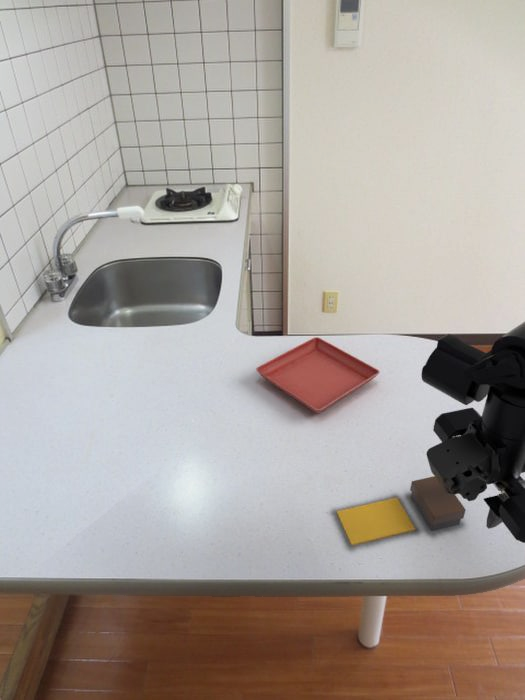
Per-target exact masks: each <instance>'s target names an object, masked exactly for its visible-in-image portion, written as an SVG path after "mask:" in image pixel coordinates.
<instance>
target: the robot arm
mask: <svg viewBox="0 0 525 700" xmlns="http://www.w3.org/2000/svg"><path fill="white" fill-rule="evenodd" d="M421 380H422V382H423V383H425V384H427V385H429V386H431V387H432V388H434V389H436V390H438V391H439V392H441V393H443V394H445V395H446V396H448V397H449V398H452V399H454V400H455V401H457V402H459V403H461V404H463V405H464V406H468V405H470V404H472V403H473V402H474V401H475V402H477V403H479V402H481V401H483V400H484V399H486V400H485V403H484V406H483V410H482V414H480V412H478V411H477V410H476V409H475V408H474V407H468V408H462V409H458V410H453V411H447V412H443V413H440V414H439V415H437V417H436V418H435V420H434V424H433V429H432V432H434V433H435V435H436V436H437V437H438V439H439V440H440V442H439V443H438V444H435V445H434V446H431V447H430V448H428V449H427V451H426V458H427V462H428V465H429V469H430V471H431V473H432V475H433V476H435V477H436V478H437V480H438V481H439V483H440V484H441V486H442V488H443V489H444V490H445V492H447V493H449V494H453V495H460V496H461V497H462V499H464V500H467V501H468V502H472V501H473V502H474V501H475V500H477V498H478V497H479V495H480V494H483V493H485V492H486V490H487V488H488V485H493V486H494V487H495V489H496V490H497V491H499V492H500V493H499V494H497V495H493V496H488V497H484V498H483V501H484V502H485V504H486V505H487V506H488V508H489V509H488V514H487V517H486V523H485V524H486V525H485V526H486V528H487V529H493V528H496V527H497V526H499V525H500V524H502V523H503V524H504V526H505V527H506V528H507V530H508V531H509V532H510V534H511V535H512V536H513V538H514V539H515V540H516V541H517V542H521V543H523V544H525V479H523V477H522V476H521V475H522V474H524V473H525V321H523V322H521V323H520V324H519V325H517V326H515V327H514V328H513V329H511V330H510V331H508V332H506V333H505V334H503V335H502V336H501V337H499V338H498V339H497V340H495V341H494V343H493V345H492V347H491V348H490V350H488V352H485V351H483V350H481V349H479V348H477V347H474V346H473V345H470V344H468V343H466V342H464V341H462V340H461V339H459V338H458V337H457V336H455V335H453V334H450V333H448V334H446V335H444V336H442V337H441V338H439V339H438V340H437V342H436V347H435V348H434V349H433V351H432V352H431V353H430V355H429V356H428V358H427V360H426V362H425V364H424V365H423V366H422V369H421Z"/></svg>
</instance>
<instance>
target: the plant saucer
mask: <svg viewBox="0 0 525 700" xmlns="http://www.w3.org/2000/svg"><path fill="white" fill-rule="evenodd" d="M255 370H256V372H257V373H258V374H259V375H260V376H261V377H263V378H264V379H265V380H266V381H267V382H269V383H271V385H273V386H275V387H277V388H278V389H280V391H282V392H284V393H285V394H287V395H289V396H290V397H291V398H292V399H294V400H296V401H297V402H299V403H300V404H302V405H303V406H305V407H306V408H307V409H309V410H310V411H312V412H314V413H315V414H320V413H323V412H324V411H325V410H327V409H329V408H331V407H332V406H334V405H335V404H336V403H338V402H339V401H342V400H343V399H344V398H346V397H348V396H349V395H351V394H352V393H354V392H355V391H357V390H359V389H360V388H362V387H363V386H365V385H367V384H368V383H369V382H371V381H372V380H374V379H375V378H376V377H377V376H378V375H379V374H380V370H379V369H378V368H376V367H374V366H373V365H370V364H368V363H366V362H365V361H363V360H361V359H359V358H357V357H356V356H354V355H352V354H350V353H348V352H346V350H345V351H344V350H343V349H340V348H339V347H337V346H336V345H334V344H332V343H330V342H327V341H326V340H325V339H322V338H321V337H317V336H316V337H315V336H314V337H312V338H311V339H309V340H307V341H305V342H302V343H301V344H299V345H297V346H295V347H294V348H291V349H289V350H288V351H286V352H284V353H282V354H280V355H278V356H276V357H274V358H273V359H271V360H269V361H267V362H265V363H263V364H261V365H259V366H257V367H256V369H255Z"/></svg>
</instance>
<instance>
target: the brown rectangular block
mask: <svg viewBox="0 0 525 700" xmlns="http://www.w3.org/2000/svg"><path fill="white" fill-rule="evenodd" d="M409 489H410V492H411V493H410V498H411V500H412V502H413V503H414V505H415V507H416V508H417V510H418V512H419V513H420V515H421V516H422V518H423V520H424V522H425V523H426V524H427V526H428V528H429V529H430V531H431V532H434V531H438V530H442V529H446V528H451V527H454V526H457V525H460V524H461V521H462V520H464V517H465V513H466V508H465V506H464V505H463V504H462V502H461V501H460V500H459V498H458V497H457V494H455V495H453V494H449V493H447V492H445V490H444V489H443V488H442V486H441V484H440V483H439V481H438V480H437V478H436V477H435V476H434V475H433V476H429V477H425V478H420V479H416V480H412V481H411V483H410V488H409Z"/></svg>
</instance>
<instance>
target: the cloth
mask: <svg viewBox="0 0 525 700" xmlns="http://www.w3.org/2000/svg"><path fill="white" fill-rule="evenodd" d="M336 514H337V516H338V519H339V521H340V523H341V525H342V528H343V531H344V532H345V534H346V537H347V538H348V541H349V544H350V545H351V546H356V545H360V544H365V543H368V542H372V541H377V540H381V539H384V538H389V537H393V536H396V535H397V536H398V535H400V534H405V533H409V532H412V531H415V530H416V527H415V525H414V524H413V522H412V521H411V519H410V517H409V515H408V513H407V512H406V510H405V509H404V507H403V505H402V503H401V501H400V500H399V498H398V497H393V498H388V499H384V500H379V501H376V502H370V503H367V504H363V505H359V506H354V507H350V508H346V509H341V510H337V511H336Z"/></svg>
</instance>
